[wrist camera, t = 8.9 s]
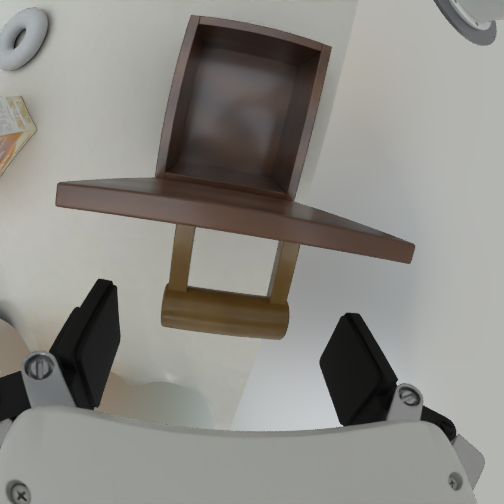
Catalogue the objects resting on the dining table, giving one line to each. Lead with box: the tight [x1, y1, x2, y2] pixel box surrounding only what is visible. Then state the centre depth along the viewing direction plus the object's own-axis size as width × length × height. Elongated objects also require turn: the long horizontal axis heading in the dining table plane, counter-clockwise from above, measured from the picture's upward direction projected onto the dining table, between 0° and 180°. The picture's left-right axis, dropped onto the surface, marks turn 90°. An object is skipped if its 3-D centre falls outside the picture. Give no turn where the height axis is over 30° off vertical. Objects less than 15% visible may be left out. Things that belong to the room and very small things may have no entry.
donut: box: [0, 7, 48, 71], centre depth 18 cm, size 10×4×10 cm
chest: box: [155, 15, 332, 202], centre depth 25 cm, size 16×13×9 cm
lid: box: [55, 178, 415, 340], centre depth 17 cm, size 17×13×5 cm
